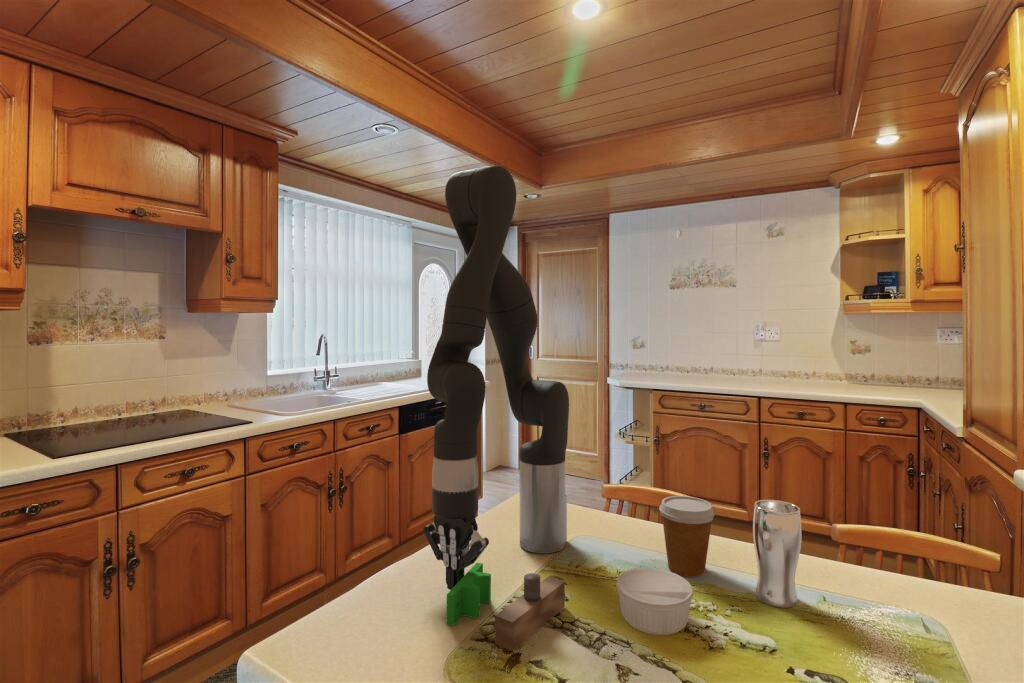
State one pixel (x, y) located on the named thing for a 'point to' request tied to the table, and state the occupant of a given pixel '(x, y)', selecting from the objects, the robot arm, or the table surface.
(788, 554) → the beer glass
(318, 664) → the table surface
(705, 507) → the disposable coffee cup
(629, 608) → the ramekin
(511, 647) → the bar
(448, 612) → the pipe clamp
